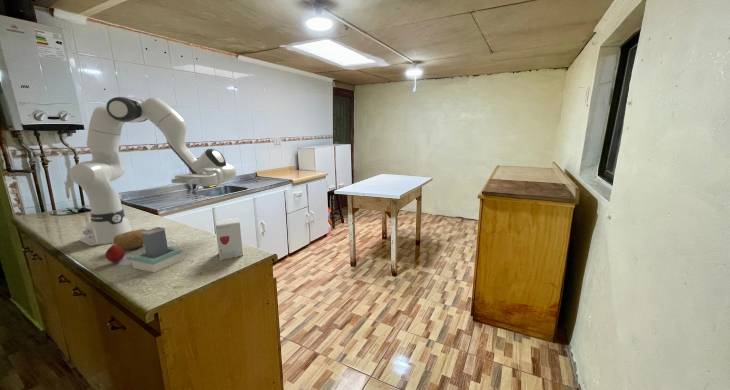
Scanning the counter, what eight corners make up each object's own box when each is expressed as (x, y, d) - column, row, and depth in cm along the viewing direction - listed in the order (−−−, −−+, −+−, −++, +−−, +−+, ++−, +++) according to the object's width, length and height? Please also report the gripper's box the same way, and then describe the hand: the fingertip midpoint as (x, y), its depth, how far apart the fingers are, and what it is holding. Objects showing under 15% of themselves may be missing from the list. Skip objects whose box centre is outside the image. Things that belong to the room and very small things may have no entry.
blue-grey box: (146, 258, 113) (141, 232, 110) (161, 252, 118) (157, 227, 116) (153, 260, 111) (148, 233, 109) (169, 253, 117) (164, 228, 114)
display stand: (132, 267, 112) (130, 256, 111) (163, 255, 123) (161, 245, 122) (154, 272, 108) (152, 261, 107) (183, 259, 119) (182, 249, 118)
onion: (115, 266, 113) (111, 247, 111) (103, 265, 114) (99, 246, 112) (130, 260, 119) (126, 241, 117) (118, 259, 120) (114, 240, 118)
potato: (157, 244, 136) (154, 227, 134) (122, 255, 123) (119, 237, 122) (145, 240, 140) (142, 225, 138) (110, 251, 127) (106, 234, 126)
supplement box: (219, 260, 117) (215, 225, 114) (219, 252, 125) (214, 219, 122) (243, 256, 121) (239, 222, 118) (241, 248, 129) (238, 216, 126)
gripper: (190, 169, 141) (162, 173, 129) (222, 171, 135) (196, 175, 122) (191, 182, 143) (164, 187, 130) (224, 184, 136) (198, 190, 123)
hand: (180, 181), depth 126 cm, fingers open, 8 cm apart
